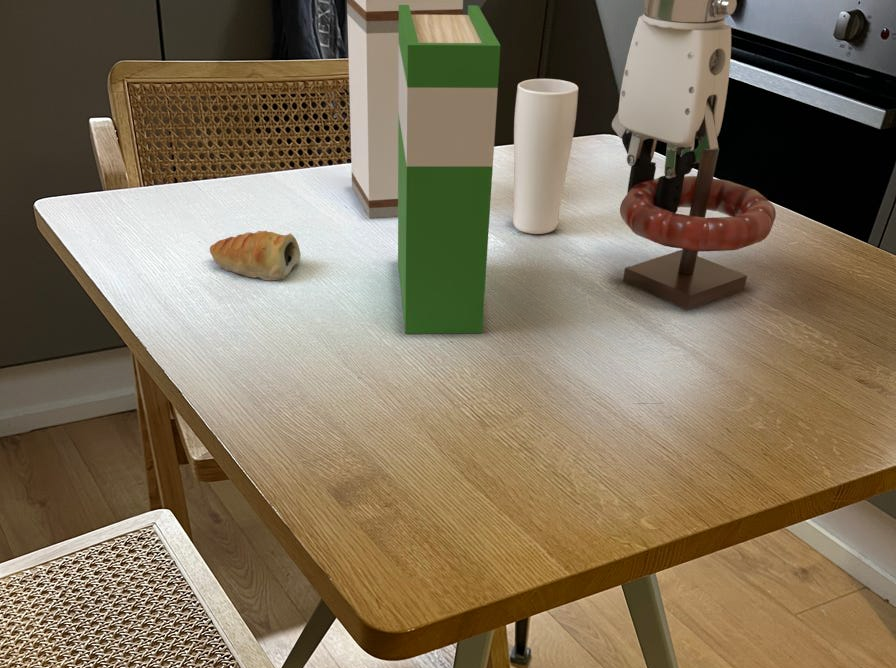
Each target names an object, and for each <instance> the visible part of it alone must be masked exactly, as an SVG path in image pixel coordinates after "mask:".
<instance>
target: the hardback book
mask: <svg viewBox="0 0 896 668" xmlns="http://www.w3.org/2000/svg"><path fill="white" fill-rule="evenodd" d="M494 33H495V32H493V29H492V27H491V26H490V24H489V22H488V21H487V18H486V17H485V15H484V13H483V12H482V9H481V8H480V6H479V5H478V4H477V5H475V4H474V5H473V4H472V5H471V4H469V5H467V14H463V15H411V12H410V8H409V5H399V88H398V217H397V267H398V277H399V287H400V296H401V297H400V298H401V305H402V306H401V307H402V314H403V324H404V334H406V335H409V334H410V335H411V334H412V335H413V334H414V335H415V334H416V335H417V334H418V335H419V334H422V335H423V334H424V335H426V334H483V327H484V326H483V325H484V308H485V292H486V277H487V263H488V262H487V261H488V247H489V246H488V245H489V231H490V218H491V217H490V215H491V213H490V212H491V201H492V184H493V171H494V169H493V168H494V152H495V140H496V139H495V137H496V122H497V121H496V120H497V108H498V107H497V106H498V90H499V75H500V61H501V44H500V42H499V40H498V38H497V37H496V35H495V34H494Z"/></svg>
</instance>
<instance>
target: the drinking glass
mask: <svg viewBox="0 0 896 668" xmlns="http://www.w3.org/2000/svg"><path fill="white" fill-rule="evenodd" d="M578 100H579V86H578V85H577V84H576V83H574V82H572V81H567V80H563V79H555V78H533V79H527V80H526V79H525V80H523V81H521V82H519V83H518V84H517V87H516V95H515V105H514V118H513V215H512V224H513V227H514V228H515V229H516V230H518V231H520V232H522V233H525V234H530V235H531V234H532V235H545V234H548V233H552V232H553V231H555V230H556V229H557V227H558V225H559V219H560V211H561V204H562V198H563V192H564V187H565V182H566V177H567V172H568V166H569V160H570V157H571V150H572V145H573V141H574V134H575V129H576V123H577V122H576V121H577V112H578V102H579V101H578Z"/></svg>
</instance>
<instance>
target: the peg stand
mask: <svg viewBox="0 0 896 668" xmlns="http://www.w3.org/2000/svg"><path fill="white" fill-rule="evenodd" d="M718 152H720V148H719V147H718V148H716V149H712V150H709V149H706V148H702V153H701V158H700V162H699V164H698V168H697V172H696V176H697V177H696V182H695V188H694V193H693V198H692V203H691V208H690V207H689V214H688V215H690V216H696V217H703V218H706V215H707V211H708V210H707V206H708V201H709V196H710V191H711V186H712V181H713V179H714V177H715V172H716V167H717V161H718V157H719V153H718ZM710 154H711V155H710ZM698 254H699V251H693V250H686V249H679V250H676V251H674V252H670V253H667V254H663V255H661V256H658V257H654V258H652V259H648V260H645V261H642V262H639V263H635V264H632V265H630V266H627V267H624V272H623V279H622V283H625V284H627V285H629V286H632V287H634V288H637V289H638V290H641V291H643V292H645V293H648V294H650V295H651V296H655V297H656V298H659V299H662V300H664V301H666V302H668V303H671V304H673V305H675V306H678V307H680V308H682V309H684V310H687V311H689V310H692V309H695V308H697V307H700V306H703V305H706V304H709V303H711V302H714V301H717V300H719V299H722V298H725V297H727V296H730V295H733V294H736V293H738V292H741V291H743V290H745V287H746V283H747V279H748V274H745V273H742V272H740V271H737V270H734V269H732V268H730V267H728V266H724V265H722V264H719V263H716V262H715V261H712V260H709V259H706V258H704V257H701V256H698Z"/></svg>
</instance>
